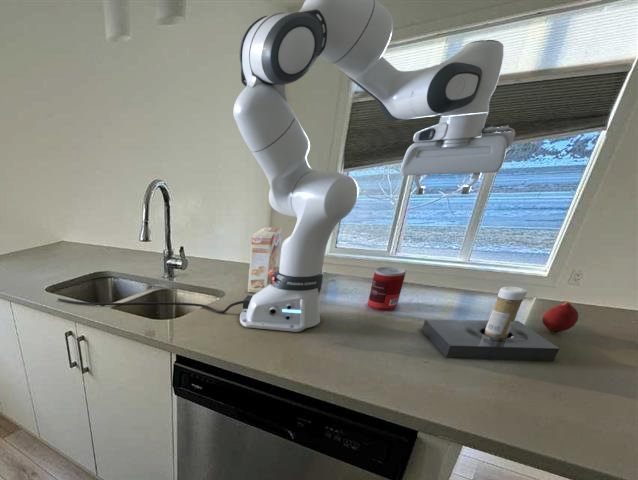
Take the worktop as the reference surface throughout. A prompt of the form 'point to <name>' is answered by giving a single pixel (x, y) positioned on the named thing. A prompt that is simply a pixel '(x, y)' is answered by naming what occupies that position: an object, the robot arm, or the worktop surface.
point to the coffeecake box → (263, 257)
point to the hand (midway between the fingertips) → (441, 194)
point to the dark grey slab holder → (487, 341)
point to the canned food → (386, 288)
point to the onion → (560, 317)
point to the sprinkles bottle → (504, 311)
